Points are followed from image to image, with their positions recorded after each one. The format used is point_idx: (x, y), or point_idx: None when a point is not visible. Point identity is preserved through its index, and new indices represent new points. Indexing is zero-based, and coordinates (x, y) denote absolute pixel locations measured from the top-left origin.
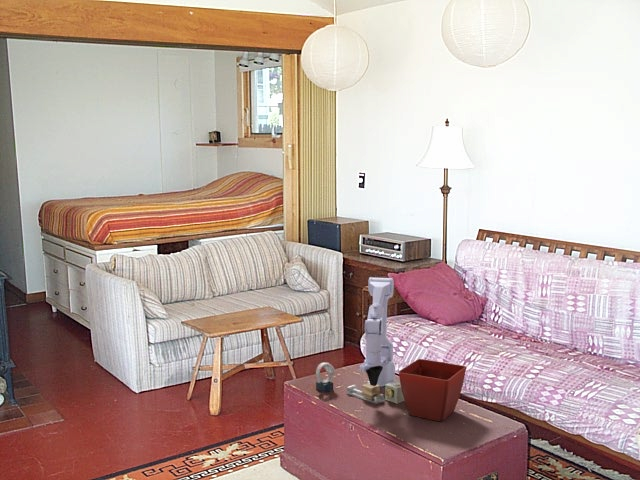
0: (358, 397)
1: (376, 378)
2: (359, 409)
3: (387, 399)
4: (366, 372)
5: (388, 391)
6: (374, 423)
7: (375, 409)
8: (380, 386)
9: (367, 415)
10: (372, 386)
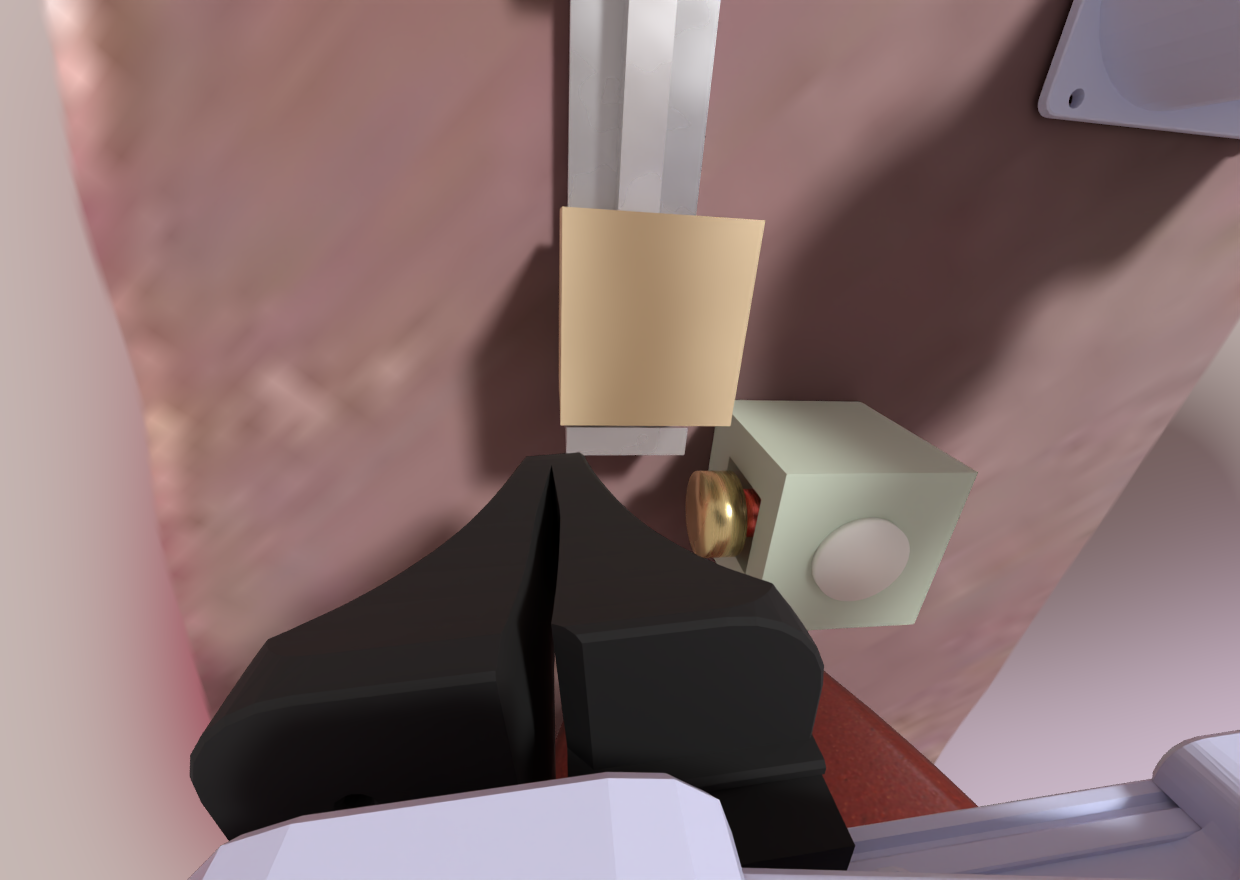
0: (568, 134)
1: (552, 646)
2: (324, 398)
3: (716, 433)
4: (382, 593)
5: (706, 528)
6: (240, 667)
7: (459, 496)
8: (1041, 99)
9: (296, 540)
10: (632, 383)
